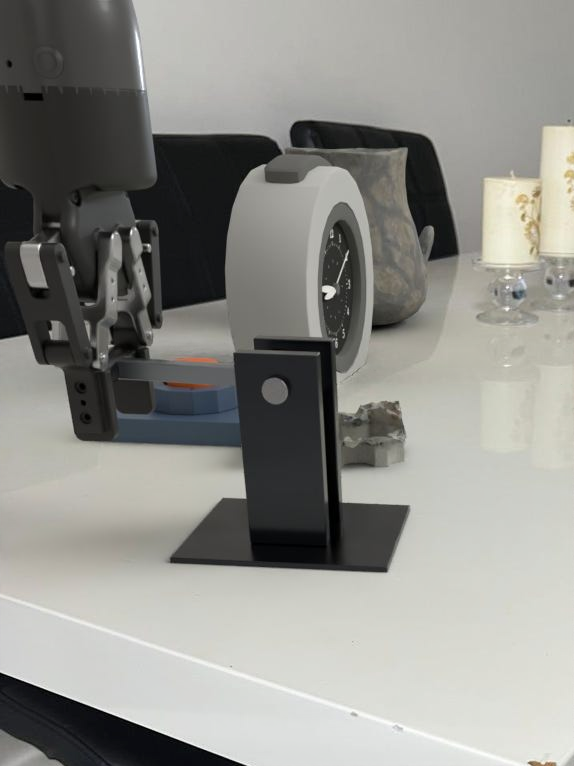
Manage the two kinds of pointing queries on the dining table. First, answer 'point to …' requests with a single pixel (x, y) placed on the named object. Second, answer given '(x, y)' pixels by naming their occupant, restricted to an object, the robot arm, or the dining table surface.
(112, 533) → the dining table surface
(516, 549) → the dining table surface
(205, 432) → the control block
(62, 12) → the robot arm
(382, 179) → the vessel
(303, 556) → the black lever stand
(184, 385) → the button
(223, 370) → the grey crank handle
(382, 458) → the egg carton
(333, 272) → the alarm clock
